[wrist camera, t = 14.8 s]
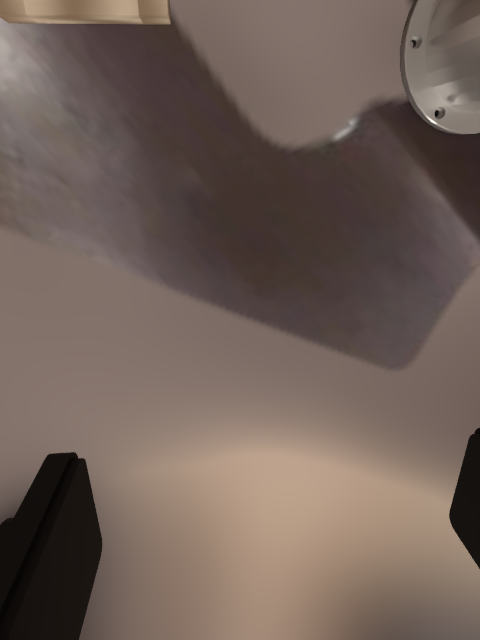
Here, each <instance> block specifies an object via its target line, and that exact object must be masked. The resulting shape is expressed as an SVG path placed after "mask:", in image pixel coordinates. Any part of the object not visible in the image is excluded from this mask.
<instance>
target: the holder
mask: <svg viewBox="0 0 480 640" xmlns="http://www.w3.org/2000/svg"><path fill="white" fill-rule="evenodd" d="M0 18H2V19H3V20H5V21H7V22H8V23H67V24H171V19H170V4H169V0H0Z"/></svg>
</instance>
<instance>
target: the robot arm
mask: <svg viewBox="0 0 480 640" xmlns="http://www.w3.org/2000/svg"><path fill="white" fill-rule="evenodd" d="M411 41H412V42H413V48H412V46H411ZM400 70H401V76H402V82H403V86H404V89H405V92H406V95H407V97H408V100H409V101H410V103H411V105H412V106H413V108H414V110H415V111H416V112H417V113H418V114H419V115H420V117H421V118H422V119H423V120H424V121H425V122H427V123H428V124H430V125H431V126H433V127H435V128H436V129H439V130H442V131H444V132H447V133H453V134H475V133H480V0H415V1H414V3H413V5H412V7H411V9H410V11H409V14H408V17H407V20H406V24H405V27H404V30H403V35H402V41H401V47H400ZM435 111H436V112H437V115H436V116H435ZM449 517H450V522H451V524H452V527H453V529H454V530H455V532H456V533H457V535H458V537H459V538H460V540H461V541H462V542H463V544H464V545H465V547H466V549H467V550H468V552H469V553H470V555H471V556H472V558H473V559H474V561H475V562H476V564H477V565H478V567H479V569H480V428H478V429H477V430H476V431H475V433H474V434H472V435H471V436H470V438H469V440H468V444H467V449H466V452H465V456H464V460H463V463H462V467H461V471H460V475H459V478H458V483H457V486H456V490H455V493H454V497H453V501H452V505H451V509H450V513H449ZM101 552H102V537H101V532H100V528H99V523H98V518H97V513H96V508H95V504H94V500H93V494H92V489H91V484H90V480H89V475H88V470H87V465H86V461H85V459H83V458H81V459H78V456H77V454H76V453H74V452H71V453H56V454H49V455H47V457H46V459H45V460H44V462H43V464H42V466H41V468H40V470H39V471H38V473H37V475H36V477H35V479H34V481H33V483H32V485H31V487H30V488H29V490H28V492H27V494H26V496H25V498H24V500H23V502H22V503H21V505H20V507H19V509H18V511H17V513H16V515H15V517H14V518H8V519H6V520H5V521H4V522H2V524H1V525H0V640H79V637H80V633H81V629H82V625H83V621H84V618H85V614H86V610H87V606H88V602H89V599H90V595H91V591H92V588H93V583H94V580H95V576H96V572H97V569H98V565H99V561H100V557H101Z"/></svg>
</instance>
